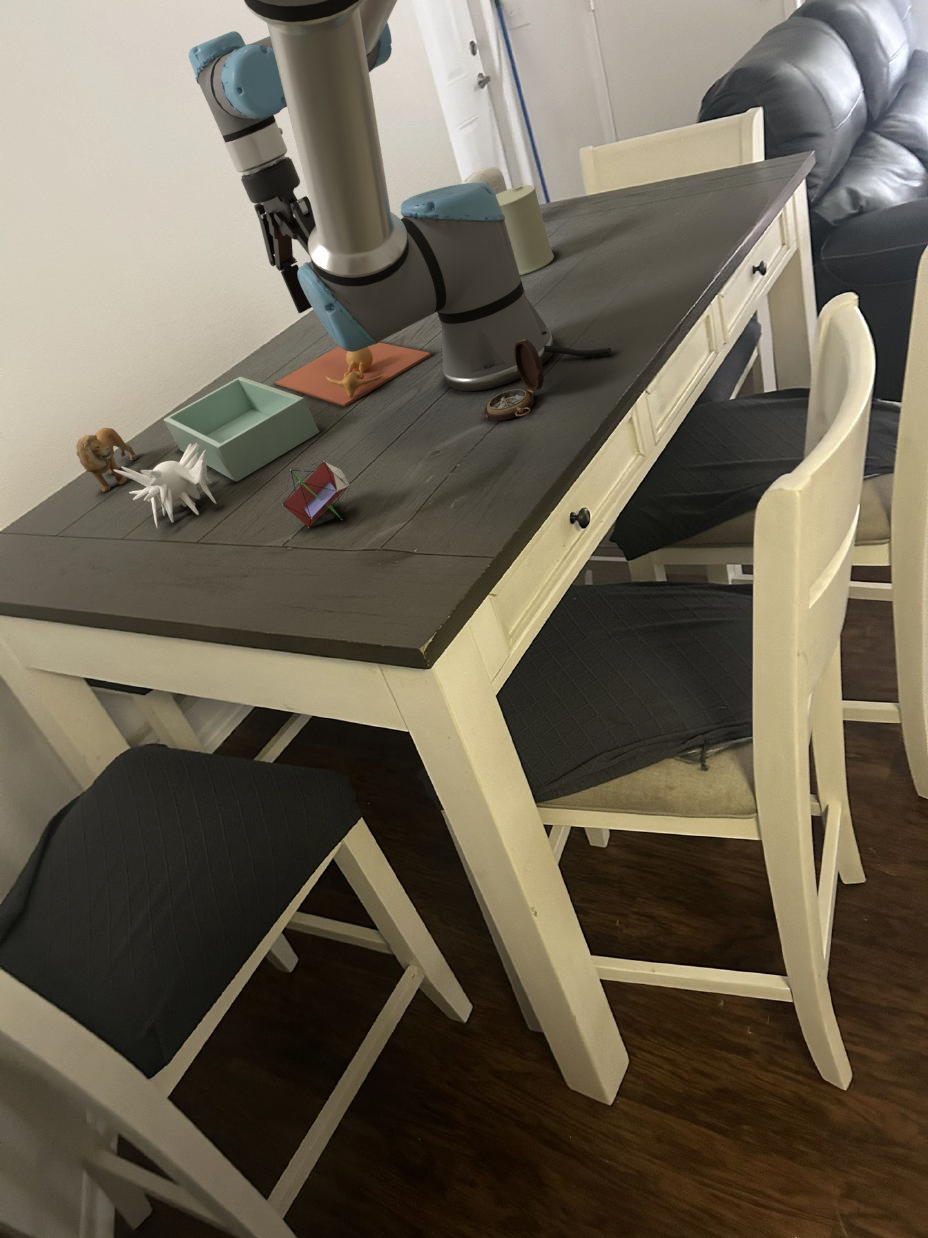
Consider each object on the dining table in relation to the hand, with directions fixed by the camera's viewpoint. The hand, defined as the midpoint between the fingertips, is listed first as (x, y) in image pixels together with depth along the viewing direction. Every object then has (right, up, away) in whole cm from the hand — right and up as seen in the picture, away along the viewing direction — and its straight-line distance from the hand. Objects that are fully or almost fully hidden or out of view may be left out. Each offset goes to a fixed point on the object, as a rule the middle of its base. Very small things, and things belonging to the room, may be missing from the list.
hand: (326, 312), depth 139 cm
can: (+31, +14, +19) cm, 39 cm away
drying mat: (+3, -7, +5) cm, 10 cm away
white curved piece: (+27, +27, +39) cm, 54 cm away
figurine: (+5, -4, +1) cm, 7 cm away
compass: (+27, -20, -26) cm, 43 cm away
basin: (-11, -20, -5) cm, 23 cm away
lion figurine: (-31, -25, +1) cm, 39 cm away
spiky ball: (-16, -32, -18) cm, 40 cm away
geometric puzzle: (+5, -34, -33) cm, 48 cm away
